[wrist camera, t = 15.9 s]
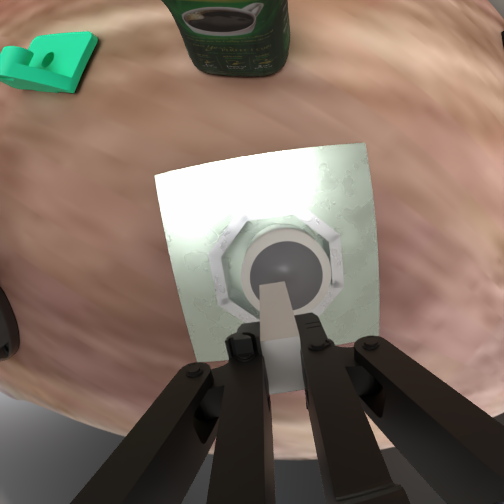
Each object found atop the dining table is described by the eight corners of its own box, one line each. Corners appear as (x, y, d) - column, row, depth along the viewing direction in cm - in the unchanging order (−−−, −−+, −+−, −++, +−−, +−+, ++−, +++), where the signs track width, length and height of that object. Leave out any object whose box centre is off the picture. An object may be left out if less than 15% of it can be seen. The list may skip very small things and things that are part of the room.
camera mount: (104, 39, 23) (58, 3, 13) (79, 95, 25) (21, 73, 15) (45, 42, 23) (0, 19, 13) (23, 90, 24) (-27, 77, 14)
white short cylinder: (251, 300, 28) (248, 324, 23) (239, 229, 26) (233, 239, 21) (322, 290, 27) (334, 311, 22) (315, 218, 26) (326, 225, 21)
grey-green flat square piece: (199, 357, 31) (191, 378, 27) (158, 175, 26) (141, 174, 23) (375, 331, 29) (388, 349, 25) (361, 144, 25) (376, 137, 21)
